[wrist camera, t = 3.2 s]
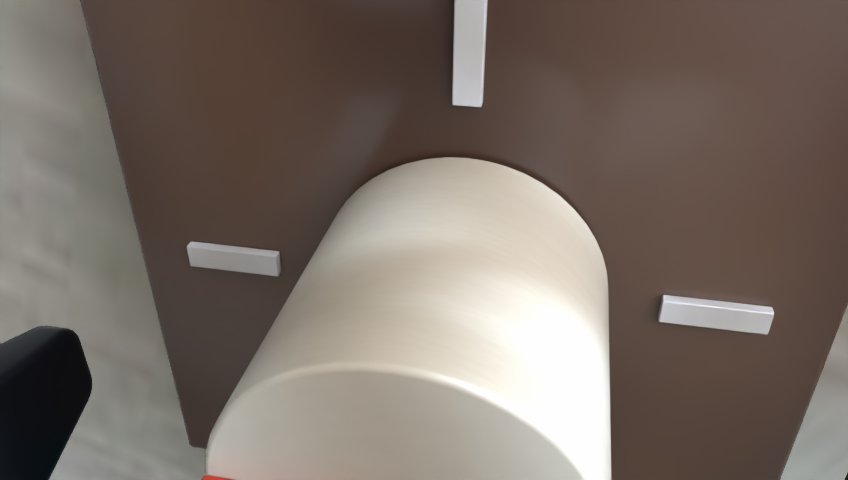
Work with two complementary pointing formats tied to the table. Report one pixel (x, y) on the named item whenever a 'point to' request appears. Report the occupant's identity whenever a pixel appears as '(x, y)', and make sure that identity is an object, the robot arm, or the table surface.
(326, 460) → the dial
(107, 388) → the table surface
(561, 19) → the dial panel
